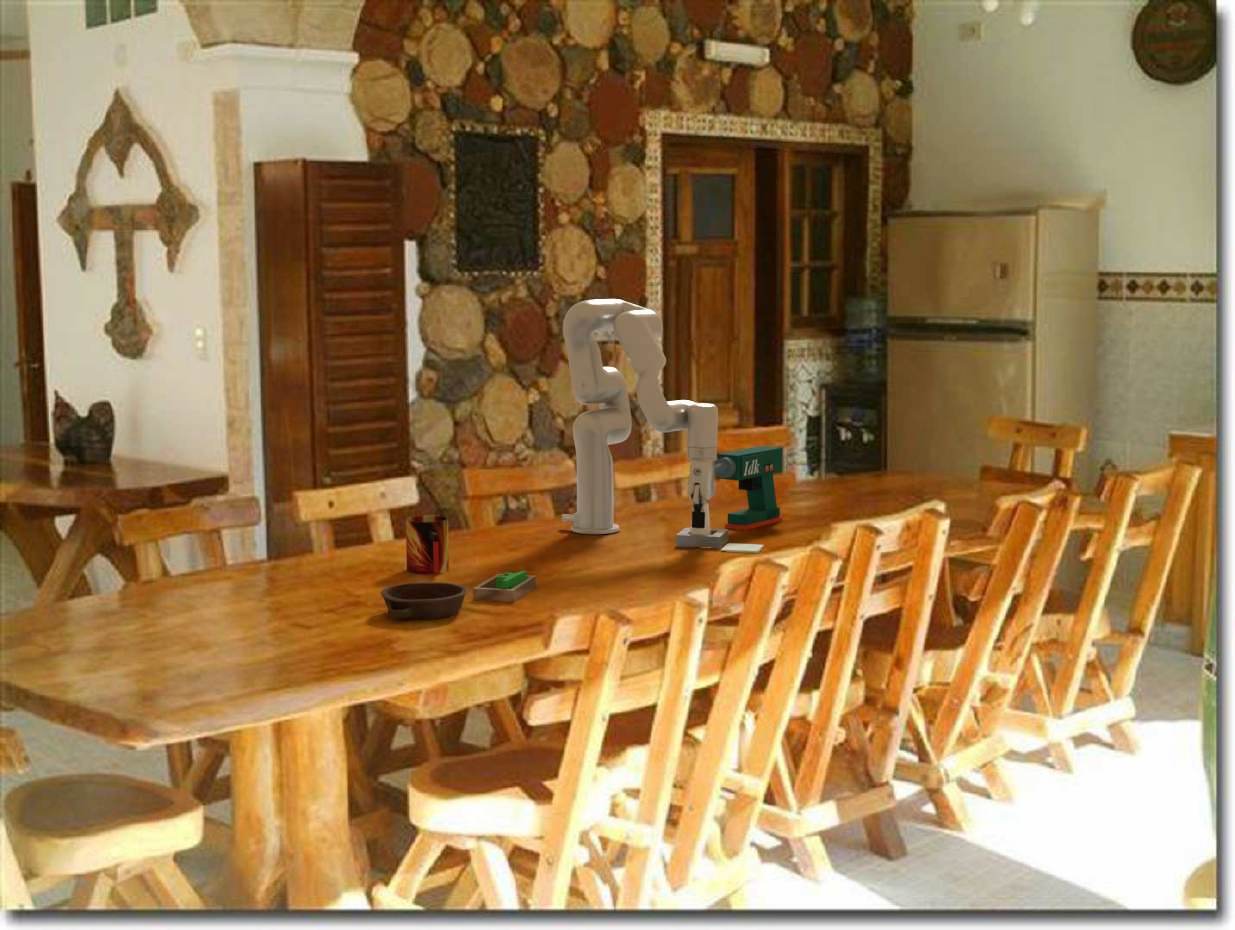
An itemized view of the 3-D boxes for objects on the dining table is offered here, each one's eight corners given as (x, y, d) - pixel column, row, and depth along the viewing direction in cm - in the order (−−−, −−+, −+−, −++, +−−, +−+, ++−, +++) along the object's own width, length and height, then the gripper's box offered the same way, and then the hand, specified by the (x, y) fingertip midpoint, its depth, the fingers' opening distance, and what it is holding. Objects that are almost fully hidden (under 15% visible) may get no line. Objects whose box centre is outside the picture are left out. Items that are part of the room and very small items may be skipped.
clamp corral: (473, 600, 353) (472, 588, 352) (497, 585, 368) (497, 573, 368) (513, 602, 350) (513, 590, 350) (536, 587, 366) (536, 575, 366)
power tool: (718, 537, 427) (718, 459, 425) (695, 534, 432) (695, 457, 429) (784, 521, 453) (785, 447, 450) (762, 518, 457) (762, 445, 454)
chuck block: (675, 547, 414) (675, 535, 414) (685, 539, 425) (685, 527, 424) (719, 548, 411) (719, 536, 411) (728, 541, 422) (728, 529, 421)
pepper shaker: (702, 539, 414) (703, 495, 413) (685, 536, 418) (685, 493, 416) (715, 536, 419) (716, 492, 417) (697, 533, 422) (698, 490, 420)
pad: (721, 551, 408) (721, 549, 408) (727, 545, 416) (727, 543, 416) (757, 553, 405) (757, 551, 405) (763, 546, 414) (763, 544, 414)
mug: (436, 578, 376) (435, 526, 374) (398, 570, 385) (397, 519, 384) (469, 572, 382) (468, 520, 381) (431, 564, 392) (430, 514, 390)
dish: (356, 619, 336) (355, 595, 335) (422, 599, 354) (422, 576, 354) (426, 629, 327) (426, 604, 326) (490, 608, 346) (490, 584, 345)
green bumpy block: (510, 590, 364) (510, 569, 363) (526, 591, 362) (526, 570, 362) (490, 600, 353) (490, 578, 353) (507, 601, 352) (507, 580, 351)
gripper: (710, 458, 406) (708, 533, 409) (723, 449, 422) (721, 521, 425) (679, 457, 408) (678, 531, 411) (693, 448, 424) (692, 519, 427)
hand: (700, 525), depth 418 cm, fingers closed on pepper shaker, 3 cm apart
